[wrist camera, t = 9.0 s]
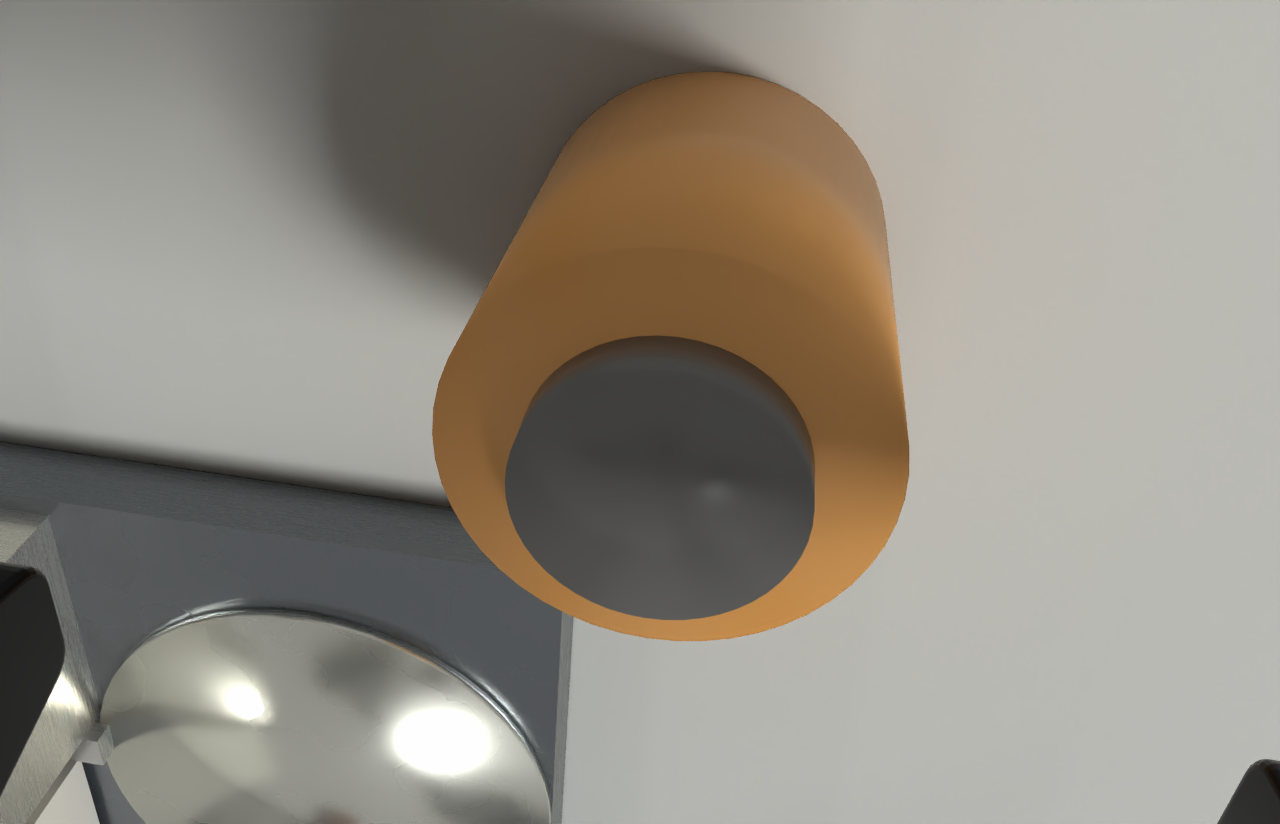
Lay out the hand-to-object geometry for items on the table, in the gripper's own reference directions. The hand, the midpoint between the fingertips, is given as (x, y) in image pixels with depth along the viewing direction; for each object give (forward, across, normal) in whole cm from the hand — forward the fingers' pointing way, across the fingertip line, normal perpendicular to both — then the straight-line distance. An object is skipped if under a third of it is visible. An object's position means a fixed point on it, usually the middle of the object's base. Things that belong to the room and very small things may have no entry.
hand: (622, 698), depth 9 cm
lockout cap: (+8, 0, 0) cm, 8 cm away
